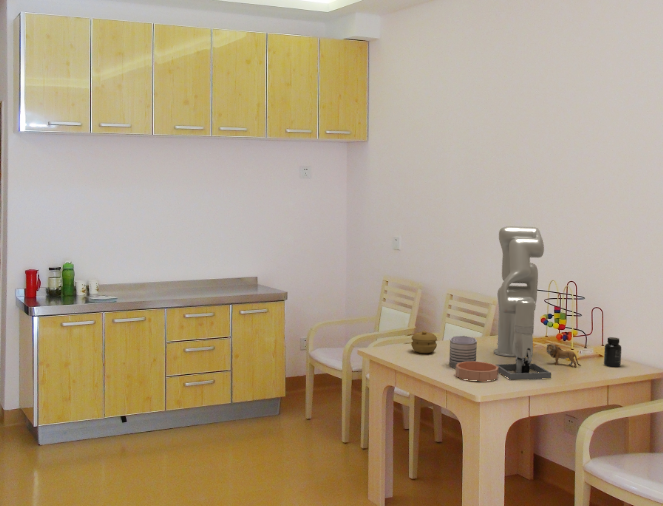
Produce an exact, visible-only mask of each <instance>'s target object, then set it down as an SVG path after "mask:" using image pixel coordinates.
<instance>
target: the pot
mask: <svg viewBox="0 0 663 506" xmlns="http://www.w3.org/2000/svg"><path fill="white" fill-rule="evenodd" d="M437 338H438V337H437V336H436V335H435V333H432V332H428V331H426V330H423V331H420V332H415V333H414V334H412V336H411V340H412V342H411V344H410V345H411V348H412V350H414V351H415V352H416V353H420V354H430V353H433V352H434V351H435V350H436V349H437V344H438V343H437V341H438V339H437Z"/></svg>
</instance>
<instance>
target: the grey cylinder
mask: <svg viewBox="0 0 663 506" xmlns="http://www.w3.org/2000/svg"><path fill="white" fill-rule="evenodd" d="M525 361H526V360H525ZM515 364H516V370H515V373H521V372H522V366H523V362H522V359H517V362H516V361H515Z"/></svg>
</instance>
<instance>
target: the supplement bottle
mask: <svg viewBox="0 0 663 506" xmlns="http://www.w3.org/2000/svg"><path fill="white" fill-rule="evenodd" d="M606 341H607V343H606V344H605V345H604V353H603V354H604V355H603V365H604V366H605V367H609V368H620V367H621V362H622V345H620V338H618V337H611V336H609V337H607V340H606Z"/></svg>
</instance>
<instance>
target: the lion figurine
mask: <svg viewBox="0 0 663 506" xmlns="http://www.w3.org/2000/svg"><path fill="white" fill-rule="evenodd" d="M546 353H547V354H548V355H550V357H551V358H554V360H555V362H554V364H555V366H557V365H559V359H562V360H566V359H568V360H569V361H570V363H568V366H572V367H573V368H576V367H577V366H579V367H581V366H582V365H581V364H580V363H579V362H578V358H577V354H576V352H574V351H573V350H564V349H562V348H561V347H560V346H557V345H556V344H554V343H548V344H547V345H546ZM573 364H574V365H573Z"/></svg>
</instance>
